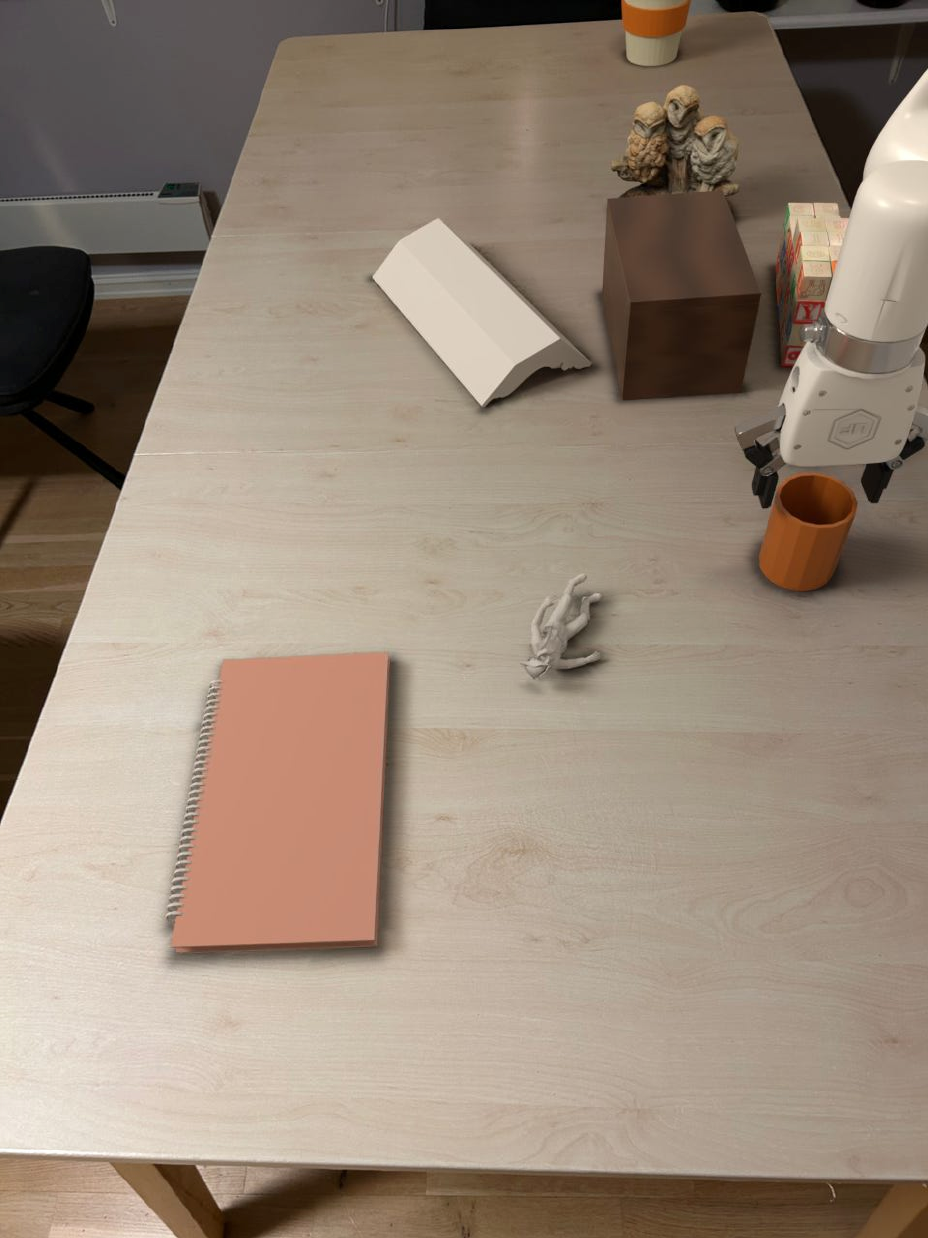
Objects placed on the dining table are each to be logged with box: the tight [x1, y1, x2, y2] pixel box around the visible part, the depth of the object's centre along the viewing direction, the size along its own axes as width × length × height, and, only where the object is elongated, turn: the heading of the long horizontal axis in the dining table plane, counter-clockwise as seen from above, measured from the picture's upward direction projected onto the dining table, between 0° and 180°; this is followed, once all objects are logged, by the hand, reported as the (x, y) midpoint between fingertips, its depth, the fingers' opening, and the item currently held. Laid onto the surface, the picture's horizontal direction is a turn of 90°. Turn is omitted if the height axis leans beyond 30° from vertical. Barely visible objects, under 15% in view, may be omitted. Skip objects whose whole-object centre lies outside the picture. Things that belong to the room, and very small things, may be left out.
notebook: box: [164, 650, 391, 954], centre depth 80 cm, size 27×17×2 cm, turn 1°
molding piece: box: [372, 217, 593, 408], centre depth 122 cm, size 32×12×10 cm
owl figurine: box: [610, 84, 740, 217], centre depth 129 cm, size 18×12×17 cm, turn 77°
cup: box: [758, 471, 859, 592], centre depth 90 cm, size 7×7×9 cm
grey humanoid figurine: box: [519, 572, 603, 681], centre depth 88 cm, size 8×5×12 cm
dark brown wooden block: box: [601, 190, 763, 401], centre depth 112 cm, size 14×22×13 cm, turn 1°
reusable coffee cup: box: [621, 0, 692, 67], centre depth 163 cm, size 13×13×15 cm
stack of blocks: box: [775, 202, 849, 368], centre depth 114 cm, size 21×6×12 cm, turn 171°
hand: (815, 495), depth 86 cm, fingers open, 9 cm apart
